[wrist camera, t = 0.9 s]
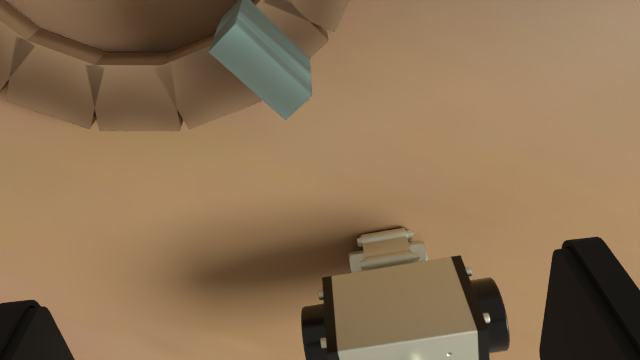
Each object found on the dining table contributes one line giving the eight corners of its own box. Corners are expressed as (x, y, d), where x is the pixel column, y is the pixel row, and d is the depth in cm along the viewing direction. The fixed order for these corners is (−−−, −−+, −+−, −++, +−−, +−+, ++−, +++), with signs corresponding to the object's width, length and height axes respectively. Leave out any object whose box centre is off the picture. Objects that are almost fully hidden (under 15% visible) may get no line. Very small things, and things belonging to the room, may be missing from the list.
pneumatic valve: (299, 235, 40) (301, 374, 30) (464, 207, 40) (522, 341, 29) (313, 291, 43) (319, 435, 33) (467, 266, 42) (521, 406, 32)
